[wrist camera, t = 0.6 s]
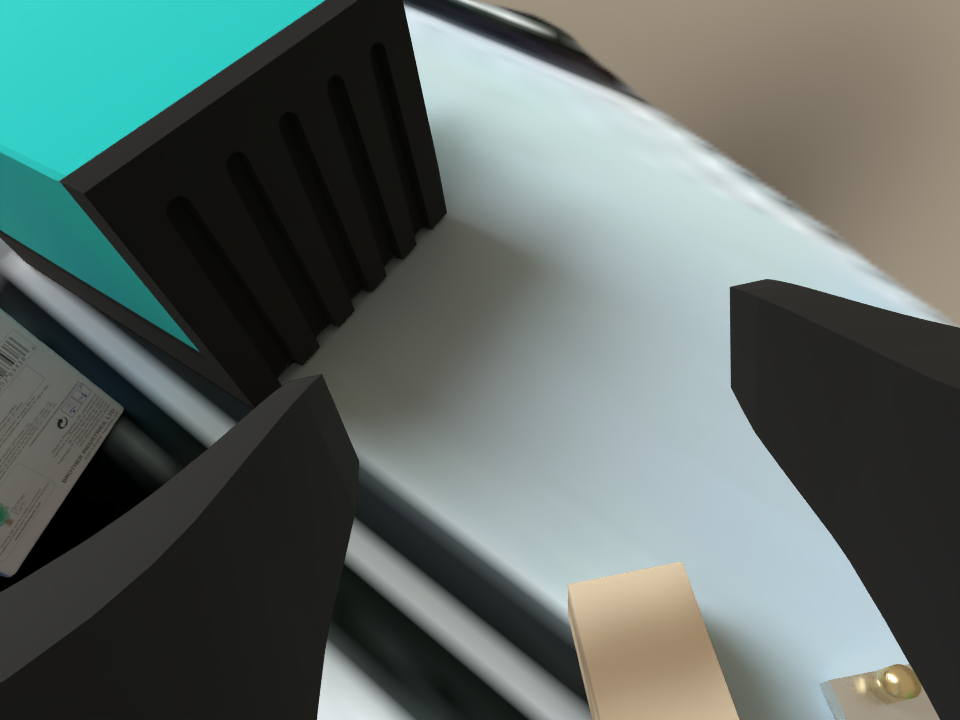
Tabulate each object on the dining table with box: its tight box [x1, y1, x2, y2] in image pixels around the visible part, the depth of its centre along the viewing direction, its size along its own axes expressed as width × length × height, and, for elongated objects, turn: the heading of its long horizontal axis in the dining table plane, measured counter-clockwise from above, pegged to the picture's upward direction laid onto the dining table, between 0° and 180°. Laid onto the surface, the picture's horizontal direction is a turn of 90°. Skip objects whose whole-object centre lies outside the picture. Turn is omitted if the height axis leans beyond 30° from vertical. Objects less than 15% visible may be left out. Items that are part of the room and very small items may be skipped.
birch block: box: [568, 562, 739, 720], centre depth 20 cm, size 6×4×5 cm, turn 9°
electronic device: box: [0, 0, 447, 409], centre depth 36 cm, size 25×25×15 cm
